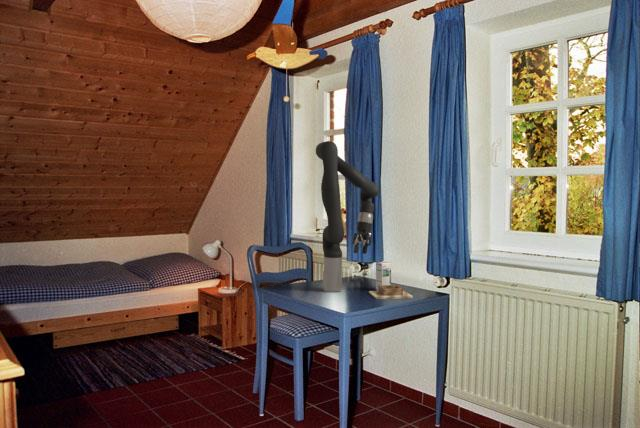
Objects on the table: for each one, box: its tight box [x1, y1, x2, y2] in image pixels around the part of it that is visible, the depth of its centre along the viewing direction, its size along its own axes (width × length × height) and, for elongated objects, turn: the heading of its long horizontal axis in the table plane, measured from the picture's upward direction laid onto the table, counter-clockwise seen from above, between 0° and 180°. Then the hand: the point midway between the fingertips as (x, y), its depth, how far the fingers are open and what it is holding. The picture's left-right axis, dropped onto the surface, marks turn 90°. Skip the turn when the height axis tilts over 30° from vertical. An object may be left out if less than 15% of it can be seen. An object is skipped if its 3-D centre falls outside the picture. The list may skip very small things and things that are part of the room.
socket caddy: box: [368, 284, 414, 300], centre depth 265 cm, size 18×14×4 cm
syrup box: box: [375, 261, 392, 291], centre depth 278 cm, size 6×6×14 cm
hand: (359, 253), depth 276 cm, fingers open, 8 cm apart
